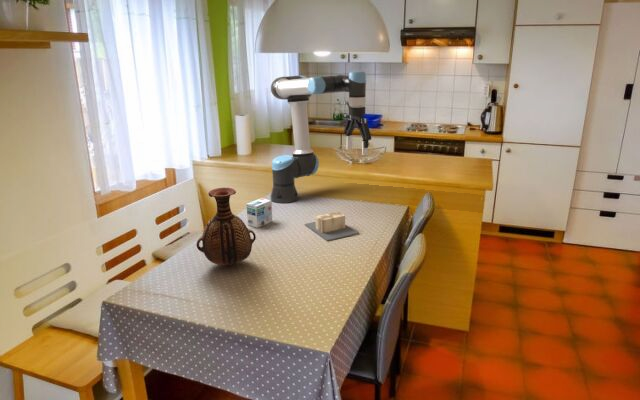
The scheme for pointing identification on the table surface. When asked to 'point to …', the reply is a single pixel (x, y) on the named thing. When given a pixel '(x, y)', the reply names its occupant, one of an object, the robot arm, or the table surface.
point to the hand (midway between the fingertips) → (356, 152)
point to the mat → (333, 232)
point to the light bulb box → (259, 212)
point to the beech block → (330, 222)
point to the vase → (225, 233)
